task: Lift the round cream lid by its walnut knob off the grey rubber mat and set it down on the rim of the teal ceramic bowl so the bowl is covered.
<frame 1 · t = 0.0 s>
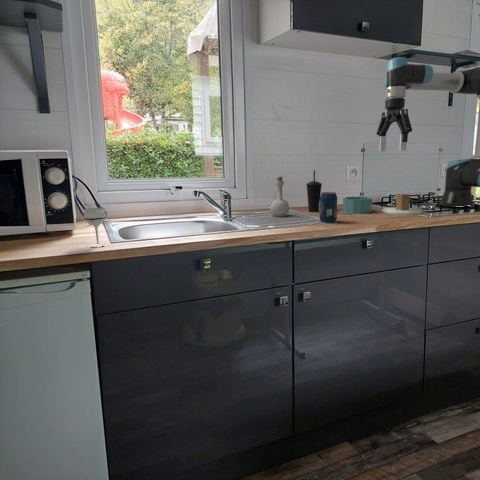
hand: (392, 151, 164), 28 cm above the worktop, tool pointing down, fingers open, 13 cm apart
mat: (401, 213, 177), on the worktop
potion bottle: (280, 216, 180), on the worktop
wineglass: (98, 246, 124), on the worktop
bowl: (356, 212, 182), on the worktop
drinking cup: (313, 211, 190), on the worktop
lid: (401, 212, 177), point 1 cm above the worktop, touching mat
soda can: (328, 222, 160), on the worktop
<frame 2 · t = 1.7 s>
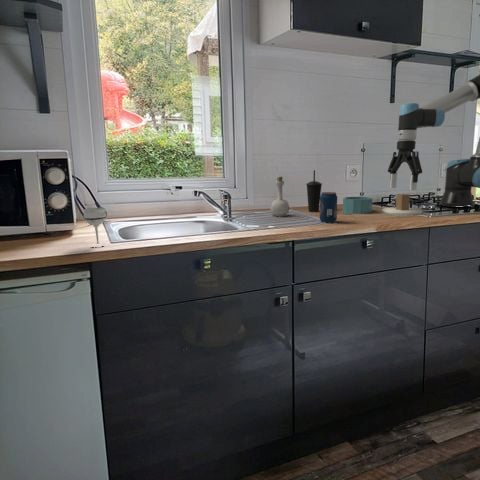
hand: (402, 189, 174), 11 cm above the worktop, tool pointing down, fingers open, 13 cm apart
nothing on the worktop moved.
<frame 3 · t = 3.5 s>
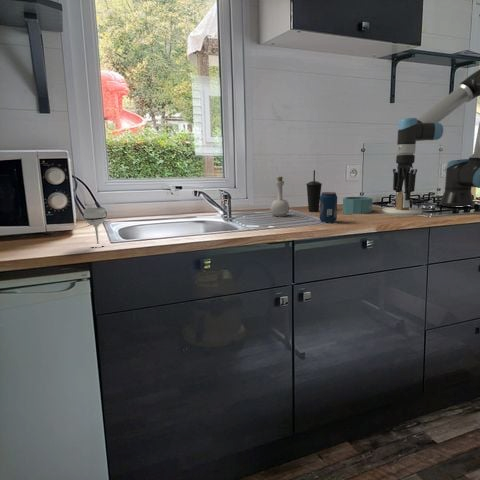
hand: (402, 206, 176), 3 cm above the worktop, tool pointing down, fingers closed on lid, 4 cm apart
lid: (401, 212, 177), point 1 cm above the worktop, touching gripper, mat
everything else where it was.
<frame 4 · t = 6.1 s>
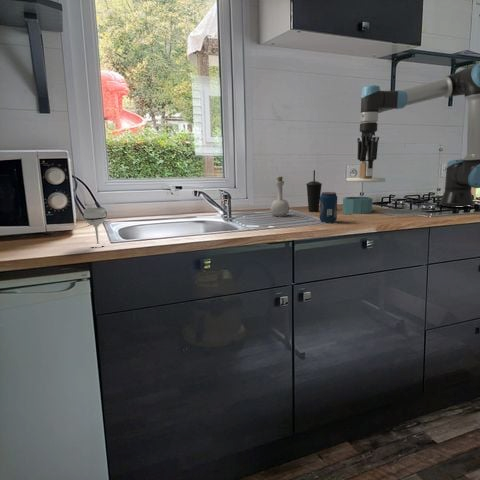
hand: (365, 175, 177), 17 cm above the worktop, tool pointing down, fingers closed on lid, 4 cm apart
lid: (365, 181, 178), point 15 cm above the worktop, touching gripper
everything else where it was.
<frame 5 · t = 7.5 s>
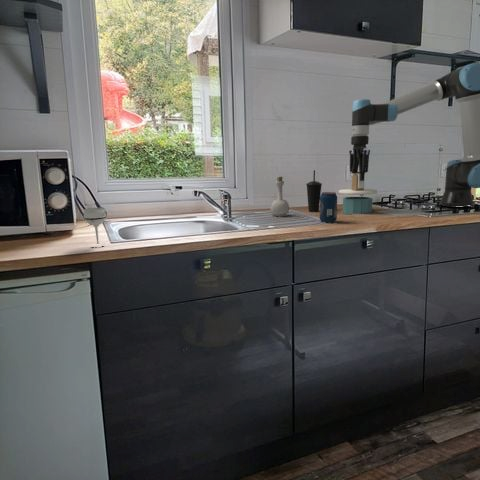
hand: (357, 187, 180), 12 cm above the worktop, tool pointing down, fingers closed on lid, 4 cm apart
lid: (357, 193, 180), point 9 cm above the worktop, touching gripper
everything else where it was.
when the fingers open (11 cm above the worktop, at t = 8.6 s): lid drops 2 cm, resting on bowl.
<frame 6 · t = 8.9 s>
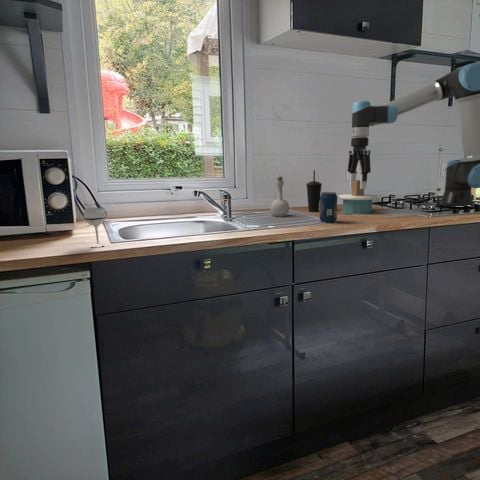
hand: (357, 187, 180), 12 cm above the worktop, tool pointing down, fingers open, 8 cm apart
lid: (357, 198, 181), point 7 cm above the worktop, touching bowl
everything else where it was.
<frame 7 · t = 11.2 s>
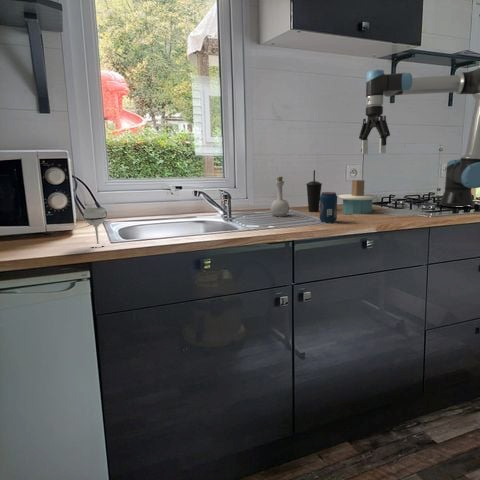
hand: (373, 153, 182), 27 cm above the worktop, tool pointing down, fingers open, 13 cm apart
nothing on the worktop moved.
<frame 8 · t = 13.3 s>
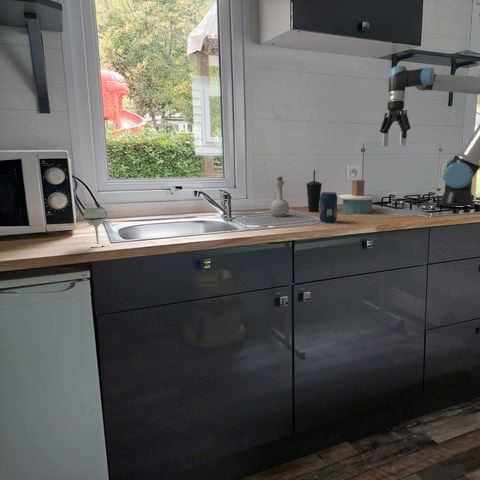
hand: (393, 146, 193), 31 cm above the worktop, tool pointing down, fingers open, 13 cm apart
nothing on the worktop moved.
at the end: lid 0.0 cm from the bowl (horizontally); lid point 7.0 cm above the worktop; lid tilted 0° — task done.
